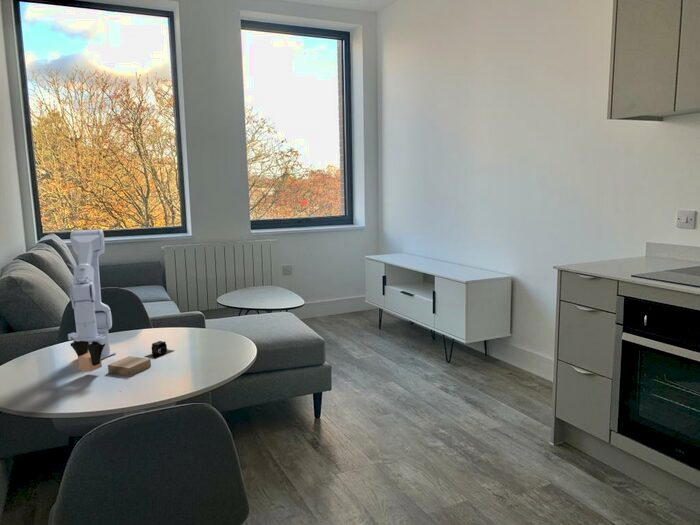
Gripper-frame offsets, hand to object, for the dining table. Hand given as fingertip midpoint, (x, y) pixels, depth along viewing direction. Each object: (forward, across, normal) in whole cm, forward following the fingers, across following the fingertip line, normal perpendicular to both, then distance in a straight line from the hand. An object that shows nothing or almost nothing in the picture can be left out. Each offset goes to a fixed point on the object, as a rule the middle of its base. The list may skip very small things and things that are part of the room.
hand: (90, 363), depth 169 cm
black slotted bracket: (+5, +6, +24) cm, 25 cm away
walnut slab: (+4, +8, +8) cm, 12 cm away
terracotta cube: (+2, 0, 0) cm, 2 cm away
